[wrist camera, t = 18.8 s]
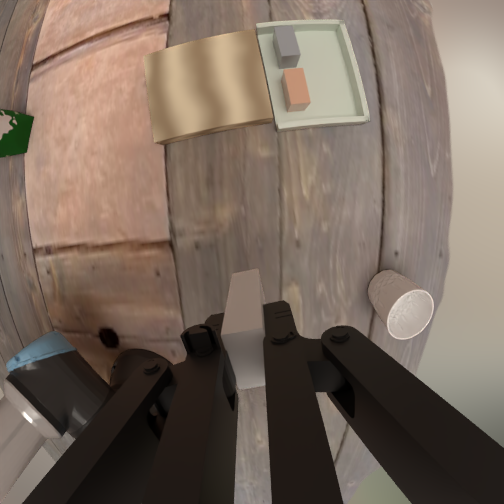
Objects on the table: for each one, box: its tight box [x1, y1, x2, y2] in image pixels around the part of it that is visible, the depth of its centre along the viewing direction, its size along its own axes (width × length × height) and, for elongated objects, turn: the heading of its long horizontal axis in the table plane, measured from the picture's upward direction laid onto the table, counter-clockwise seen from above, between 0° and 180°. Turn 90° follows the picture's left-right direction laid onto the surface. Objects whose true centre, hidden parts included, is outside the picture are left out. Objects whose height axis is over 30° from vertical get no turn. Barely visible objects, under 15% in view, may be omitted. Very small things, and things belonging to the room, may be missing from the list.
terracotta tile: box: [281, 68, 311, 113], centre depth 32 cm, size 5×5×2 cm
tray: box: [256, 20, 370, 132], centre depth 33 cm, size 13×17×3 cm
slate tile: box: [272, 25, 301, 69], centre depth 30 cm, size 5×5×2 cm
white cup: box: [368, 270, 434, 339], centre depth 38 cm, size 8×8×10 cm
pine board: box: [144, 29, 273, 145], centre depth 33 cm, size 16×14×4 cm
